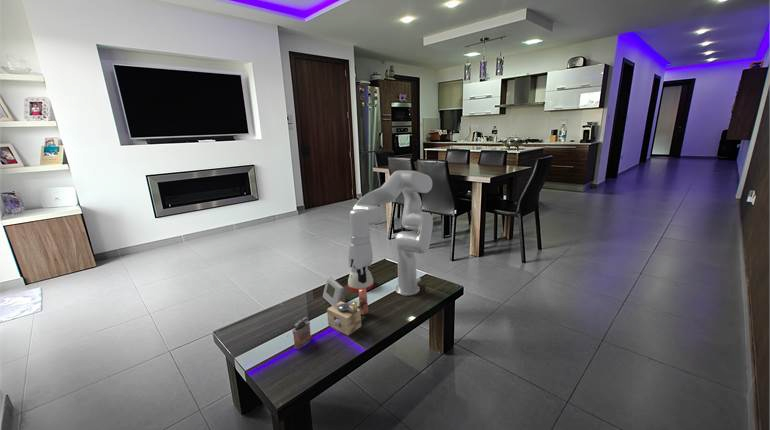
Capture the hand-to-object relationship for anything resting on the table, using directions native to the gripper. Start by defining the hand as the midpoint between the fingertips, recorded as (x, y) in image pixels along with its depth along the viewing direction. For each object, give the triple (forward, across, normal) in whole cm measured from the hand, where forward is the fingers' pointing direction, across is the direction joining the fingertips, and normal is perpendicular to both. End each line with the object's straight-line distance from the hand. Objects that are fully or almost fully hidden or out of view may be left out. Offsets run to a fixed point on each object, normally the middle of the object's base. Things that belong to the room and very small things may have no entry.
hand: (362, 281), depth 132 cm
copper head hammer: (+20, +1, -7) cm, 21 cm away
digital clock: (+20, -6, -26) cm, 33 cm away
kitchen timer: (+20, -27, -28) cm, 43 cm away
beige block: (+20, +5, -7) cm, 22 cm away
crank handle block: (+12, +5, -4) cm, 14 cm away
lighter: (+21, +23, -12) cm, 33 cm away
